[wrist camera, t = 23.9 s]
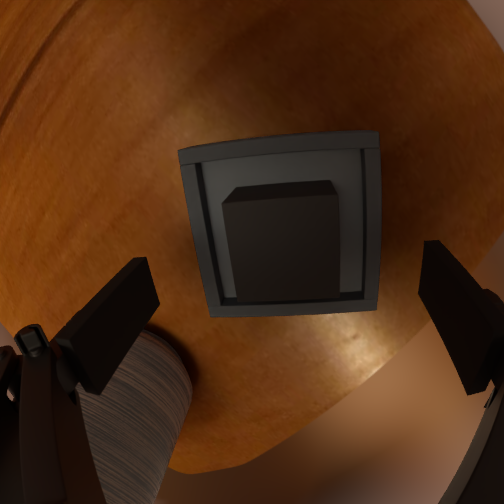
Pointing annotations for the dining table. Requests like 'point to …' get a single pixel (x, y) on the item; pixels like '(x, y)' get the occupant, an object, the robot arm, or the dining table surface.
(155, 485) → the vase
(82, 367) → the robot arm
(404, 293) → the dining table surface
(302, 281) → the black box
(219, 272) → the dark gray rectangular tray
